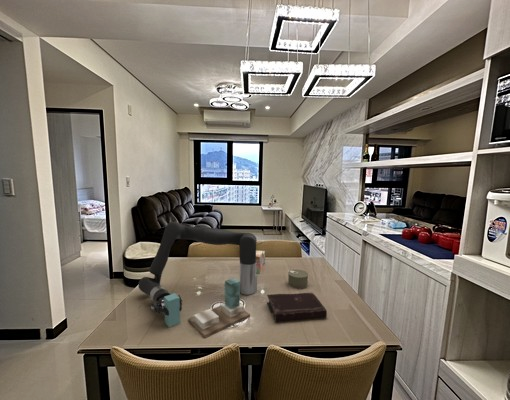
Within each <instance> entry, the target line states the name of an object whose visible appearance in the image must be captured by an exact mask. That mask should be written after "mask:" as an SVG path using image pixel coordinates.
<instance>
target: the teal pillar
mask: <svg viewBox="0 0 510 400" xmlns="http://www.w3.org/2000/svg"><path fill="white" fill-rule="evenodd" d="M170 294H171V295H168V296H164V306H165V307H166V308H167V309H168V311H169V315H168V316H167V315H165V314H164V323H165V324H166V326H167V327H168V328H170V327H171V328H172V327H174V326H176V325H179V324H180V323H181V311H180V297H181V296H180V297H179V296H178V294H176V293H175V292H173V293H170ZM173 325H174V326H173Z"/></svg>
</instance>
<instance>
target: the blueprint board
mask: <svg viewBox="0 0 510 400" xmlns="http://www.w3.org/2000/svg"><path fill="white" fill-rule="evenodd" d="M240 296H241V295H240V280H238V279H236V278H234V277H233V278H229V279H227V280H224V302H223V303H221V304H220V305H218V306H216V307H214V308H209V309H205V310H203V311H200V312H198V313H196V314H194V315H193V316H192V317H191V316H190V317H189V318H187V319H188V322H189V323H190V324H191V326H193V327H194V328H195V329H196V331H198V333H199V334H200V335H201V336H202V337H203V338H204V339H205V338H207V337H210V336H212V335H214V334H216V333H218V332H220V331H223V330H225V329H227V328H228V327H231V326H233V325H235V324H237V323H240V322H241V321H243V320H246V319H248V318H250V317H251V314H250V313H249V312H247V311H246V310H245V306H244V305H243V304H242V303H240V300H241V299H240Z"/></svg>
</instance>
